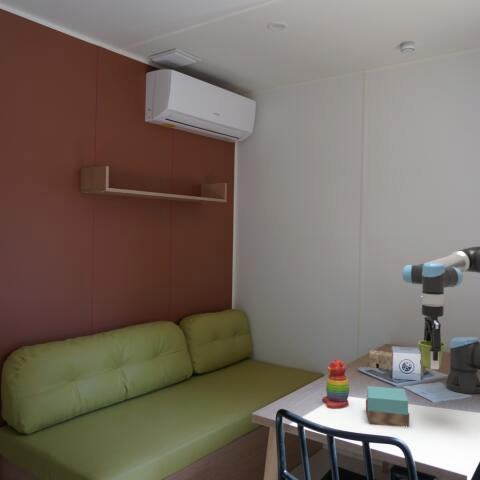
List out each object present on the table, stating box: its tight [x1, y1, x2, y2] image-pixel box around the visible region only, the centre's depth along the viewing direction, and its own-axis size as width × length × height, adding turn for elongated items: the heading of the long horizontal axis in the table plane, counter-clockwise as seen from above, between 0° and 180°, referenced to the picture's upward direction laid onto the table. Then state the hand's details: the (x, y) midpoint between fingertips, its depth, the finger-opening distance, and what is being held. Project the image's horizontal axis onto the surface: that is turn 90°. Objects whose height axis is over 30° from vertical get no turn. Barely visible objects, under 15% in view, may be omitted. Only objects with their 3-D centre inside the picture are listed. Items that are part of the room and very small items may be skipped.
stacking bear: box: [321, 359, 350, 410], centre depth 203 cm, size 11×10×18 cm
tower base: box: [365, 398, 410, 428], centre depth 188 cm, size 14×14×5 cm
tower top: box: [366, 385, 409, 415], centre depth 188 cm, size 14×14×5 cm
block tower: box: [368, 349, 427, 376], centre depth 254 cm, size 8×8×29 cm
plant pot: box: [418, 340, 446, 369], centre depth 184 cm, size 9×9×9 cm
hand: (431, 365), depth 184 cm, fingers closed on plant pot, 8 cm apart
